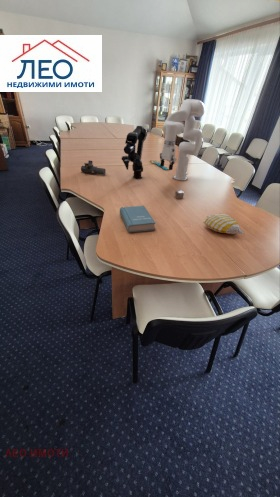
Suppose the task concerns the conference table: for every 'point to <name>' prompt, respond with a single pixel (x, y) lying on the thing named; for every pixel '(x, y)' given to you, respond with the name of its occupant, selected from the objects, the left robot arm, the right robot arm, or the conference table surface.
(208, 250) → the conference table surface
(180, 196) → the grey metal block
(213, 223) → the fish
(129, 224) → the book
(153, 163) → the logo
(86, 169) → the laser sight
